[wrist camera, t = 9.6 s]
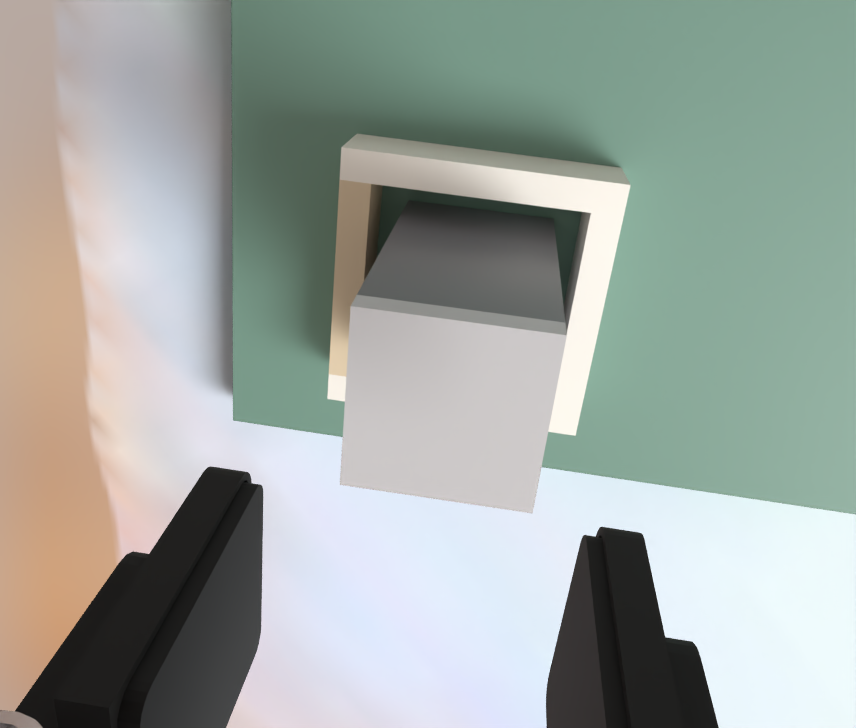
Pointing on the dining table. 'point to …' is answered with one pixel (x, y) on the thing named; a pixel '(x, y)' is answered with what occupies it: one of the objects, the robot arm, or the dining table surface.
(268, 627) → the dining table surface
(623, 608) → the robot arm
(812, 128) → the board
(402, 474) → the plug
